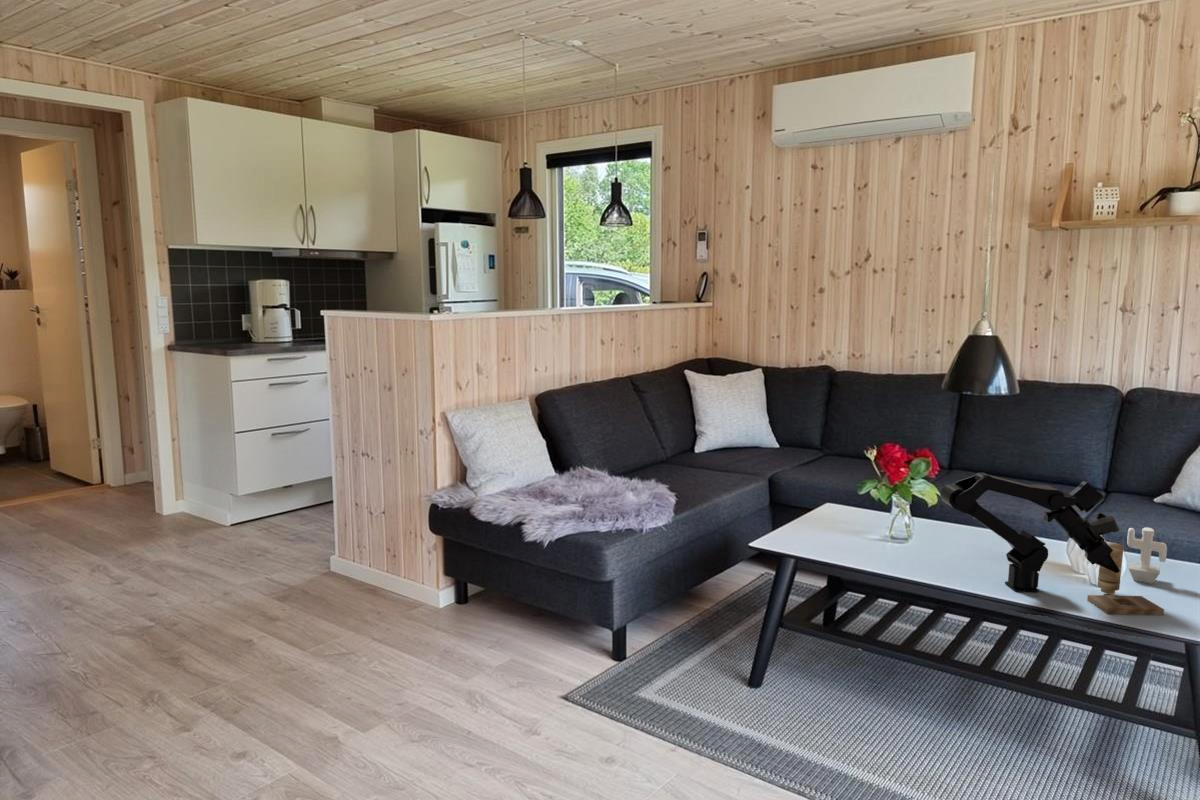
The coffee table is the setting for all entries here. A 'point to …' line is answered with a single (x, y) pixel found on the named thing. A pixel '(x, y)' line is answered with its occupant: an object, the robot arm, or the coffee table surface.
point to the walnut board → (1125, 605)
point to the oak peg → (1108, 578)
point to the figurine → (1145, 555)
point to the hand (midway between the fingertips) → (1116, 568)
